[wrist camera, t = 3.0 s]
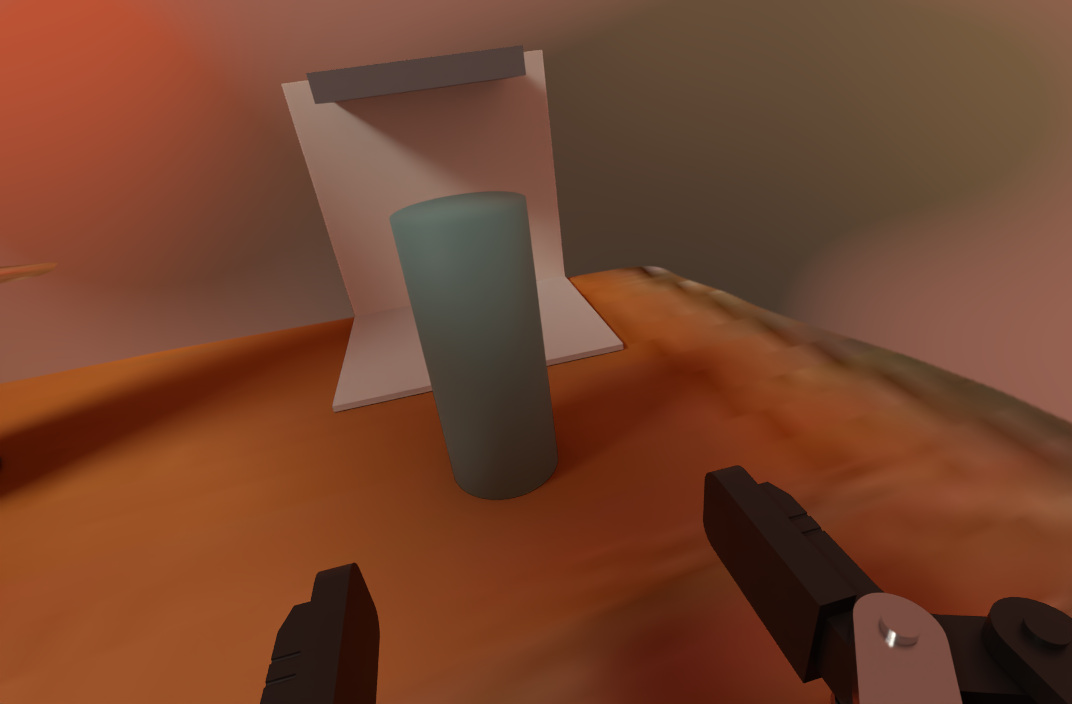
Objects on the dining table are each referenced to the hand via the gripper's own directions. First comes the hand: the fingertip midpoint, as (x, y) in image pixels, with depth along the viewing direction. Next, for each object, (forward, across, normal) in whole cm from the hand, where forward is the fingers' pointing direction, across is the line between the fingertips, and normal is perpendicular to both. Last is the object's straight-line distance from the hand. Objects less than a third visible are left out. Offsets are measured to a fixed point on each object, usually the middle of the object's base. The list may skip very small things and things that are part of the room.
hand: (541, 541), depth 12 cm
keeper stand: (+27, 0, +6) cm, 28 cm away
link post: (+11, 0, +7) cm, 13 cm away
